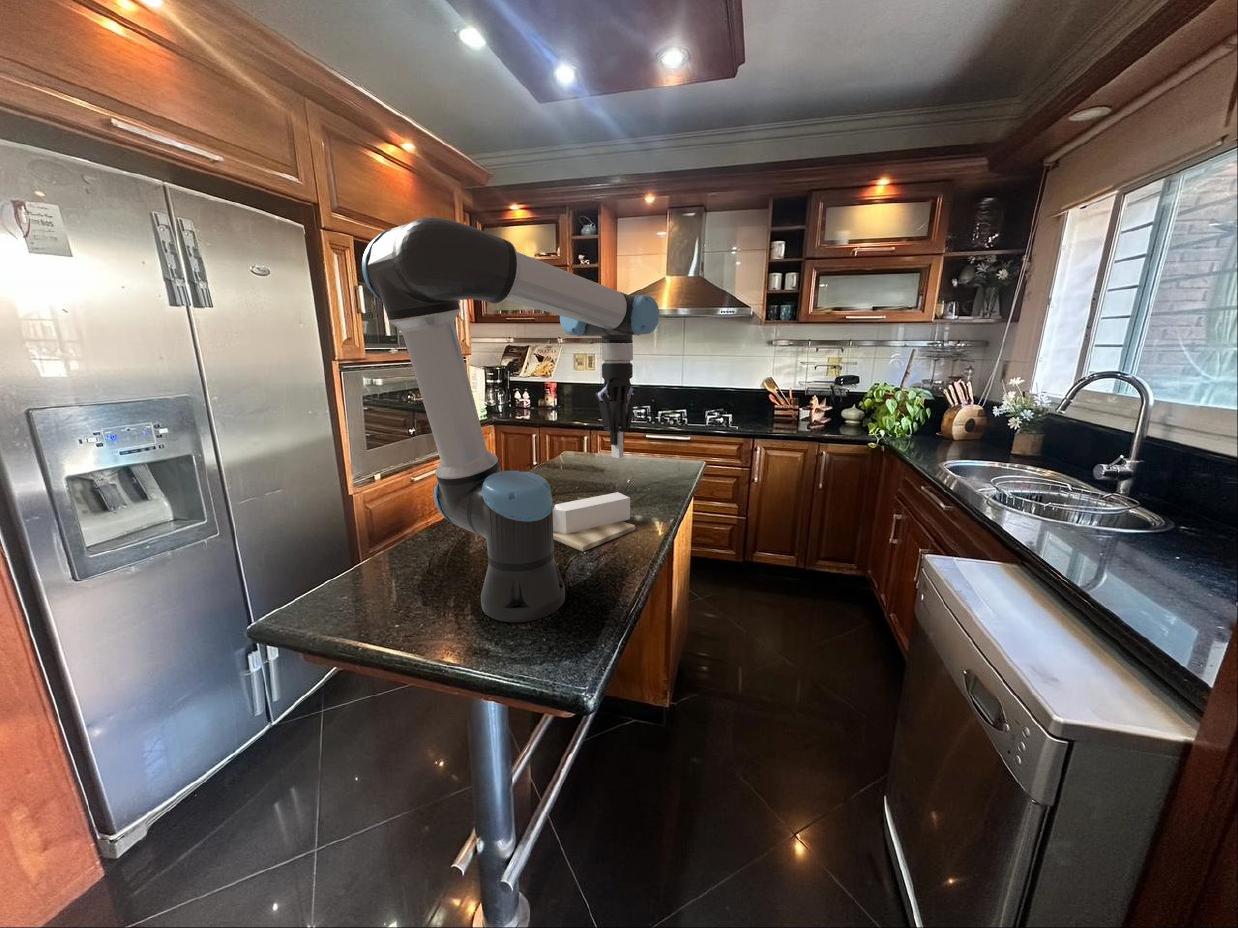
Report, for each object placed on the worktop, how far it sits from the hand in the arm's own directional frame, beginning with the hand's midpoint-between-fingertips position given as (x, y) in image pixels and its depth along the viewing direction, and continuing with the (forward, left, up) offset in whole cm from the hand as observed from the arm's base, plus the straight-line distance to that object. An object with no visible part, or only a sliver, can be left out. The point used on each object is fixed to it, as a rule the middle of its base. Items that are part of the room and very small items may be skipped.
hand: (617, 456), depth 121 cm
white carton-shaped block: (+4, +1, -14) cm, 15 cm away
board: (-9, 0, -18) cm, 20 cm away
